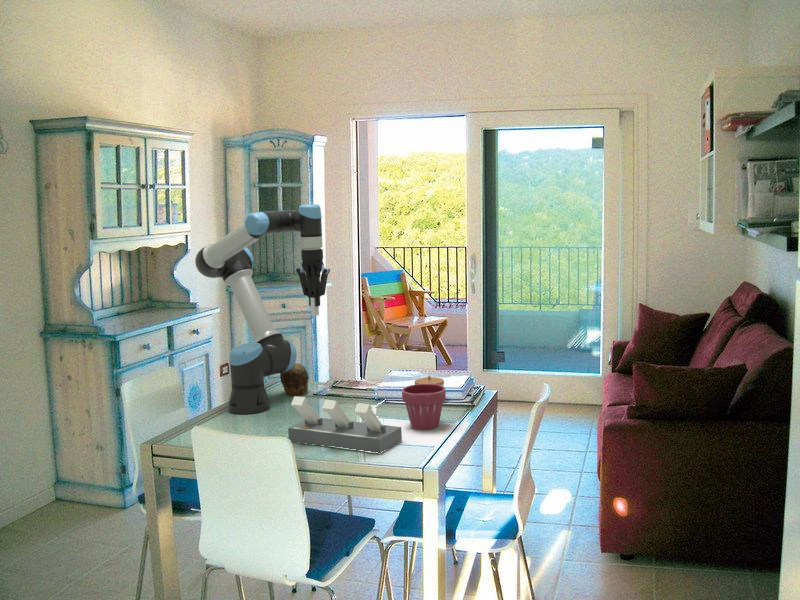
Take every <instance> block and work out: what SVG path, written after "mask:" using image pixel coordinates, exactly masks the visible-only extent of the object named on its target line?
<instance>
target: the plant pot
mask: <svg viewBox="0 0 800 600" xmlns="http://www.w3.org/2000/svg"><path fill="white" fill-rule="evenodd" d="M401 397H402V402H403V403H404V404H405V408H406V411H407V415H408V418H409V421H410V425H411V426H410V427H411V428H412V429H414V430H418V429H419V430H420V431H423V430H425V431H428V430H433V429H437V428H438V427H439V426H440V421H441V414H442V410H443V406H444V405H443V403H444V401H446V398H447V397H446V388H445V386H444V387H443V386H441V385H437V384H415V383H414V384H411V385H407V386H405V387H403V388H402V389H401Z"/></svg>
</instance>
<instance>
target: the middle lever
mask: <svg viewBox="0 0 800 600" xmlns="http://www.w3.org/2000/svg"><path fill="white" fill-rule="evenodd" d="M321 409H322V410H323V411H324V412H326V413H327V414H328V415H329V417H330V419H333V420H334V422H335V423H336V424H337V426H339V427H349V422H350V421H351V420H350V418H349V417H348V416H347V415H346V414H345V411H343V410H342V408H341V407H340V403H339V402H338V401H337V400H333V399H331V400H330V399H325V400H324V402H323V404H322V407H321Z"/></svg>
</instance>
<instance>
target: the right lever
mask: <svg viewBox="0 0 800 600" xmlns="http://www.w3.org/2000/svg"><path fill="white" fill-rule="evenodd" d="M372 409H373V407H372V406H371V404H370V403H369V404H368V403H359V402H358V403H357V404H356V407H355V410H354V413H355V414H356V416H359V418H360V419H361V420H362V421H363V423H365V424H366V426H367V427H368V428H369V430H372V431H382V425H383V424H382V423H381V421H380V420H379V418H378V417H377V415H376V414H375V413H374V411H373V410H372Z"/></svg>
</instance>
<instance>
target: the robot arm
mask: <svg viewBox="0 0 800 600" xmlns="http://www.w3.org/2000/svg"><path fill="white" fill-rule="evenodd" d="M298 207H299V208H298V210H296V209H292V210H291V209H283V210H277V211H275V210H273V211H256V212H251V213H249V214H247V216H246V219H245V220H244V223H242V224H241V225H239V226H238V227H237V228H235V229H234V230H232V231H231V232H229V233H228V234H226V235H225V236H224V237H222V238H220V239H218V240H217V241H216V242H214V243H208V244H207V245H205V246H204V247H202V248H201V249H200V250H199V251H198V252H197V254H196V255H195V259H194V260H195V261H194V263H195V267H196V269H197V271H198V272H199V273H200V274H201V275H203V276H204V277H206V278H210V279H216V278H221V279H222V280H223V282H224V284H225V286H229V287H230V288H231V291H232V293H233V296H234V297H235V299H236V301H237V304H238V306H239V308H240V311H241V313H242V315H243V317H244V319H245V321H246V324H247V326H248V329H249V331H250V332H251V335H252V337H253V339H254V342H248V343H242V344H238V345H237V346H235V347H233V348H231V350H230V351H229V367H230V381H231V391H230V395H229V398H228V404H227V411H228V412H229V413H232V414H237V415H250V414H257V413H258V414H259V413H262V412H265V411H267V410H269V409H271V401H270V398H269V395H268V393H267V390H266V388H265V379H264V378H265V377H266V378H267V377H269V376H273V375H274V376H275V375H278V374H280V373H284V372H285V371H288V370H290V369H292V368H293V366H294V365H295V363H296V361H297V349H296V346H295V344H294V343H293V342H292V341H290V340H288V339H285V338H284V335H283V334H282V332H280V331H277V330H276V328H275V327H274V324H273V322H272V320H271V317H270V316H269V312H268V311H267V309H266V306H265V304H264V302H263V300H262V298H261V296H260V294H259V291H258V289H257V287H256V285H255V283H254V280H253V278H252V276H253V274H254V271H253V269H254V267H255V263H254V262H255V259H254V255H253V254H252V251H251V250H250V249H249V248H248V247H249V246H251V245H252V244H254V243H256V242H257V241H258V240H259V239H262V238H263V237H265V236H266V235H269V234H278V233H286V232H287V233H290V232H292V233H293V232H300V233H299V234H300V236H299V237H300V248H301V251H300V253H301V261H302V262H301V266H300V267H299V268H296V270H295V271H296V273H297V275H298V277H299V282H300V285H301V290H302V293H303V296H307V297H308V305H309V307H310V316H311V317H317V316H320V307H321V297H322V296H324V295H325V294H326V288H327V283H328V275H329V274H330V272H331V269H330V268H327V267H326V266H325V264H324V262H323V261H324V250H323V249H322V248H323V246H324V245H323V227H322V226H323V225H322V217H323V216H322V211H321V209H322V208H321V205H320V204H313V203H311V204H307V203H306V204H300V205H299V206H298Z"/></svg>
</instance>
